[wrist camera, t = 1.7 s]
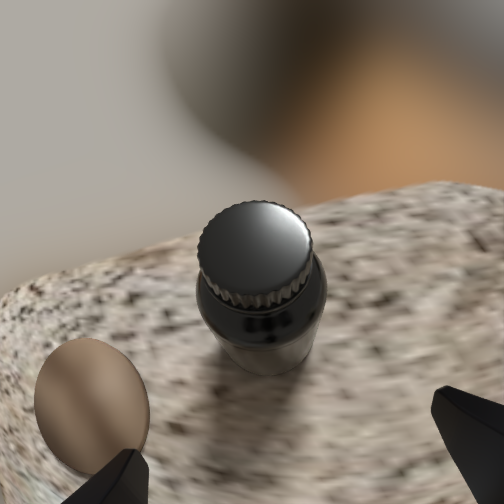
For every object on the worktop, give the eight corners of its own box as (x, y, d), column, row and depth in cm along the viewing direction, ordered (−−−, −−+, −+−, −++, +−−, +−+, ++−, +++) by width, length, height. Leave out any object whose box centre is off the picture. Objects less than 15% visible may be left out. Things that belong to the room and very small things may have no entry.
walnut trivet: (104, 499, 15) (98, 501, 14) (25, 407, 19) (18, 405, 18) (178, 398, 20) (173, 396, 19) (83, 317, 24) (77, 313, 23)
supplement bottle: (328, 355, 21) (370, 285, 10) (240, 389, 20) (194, 353, 10) (292, 279, 24) (295, 167, 14) (213, 309, 24) (159, 212, 13)
